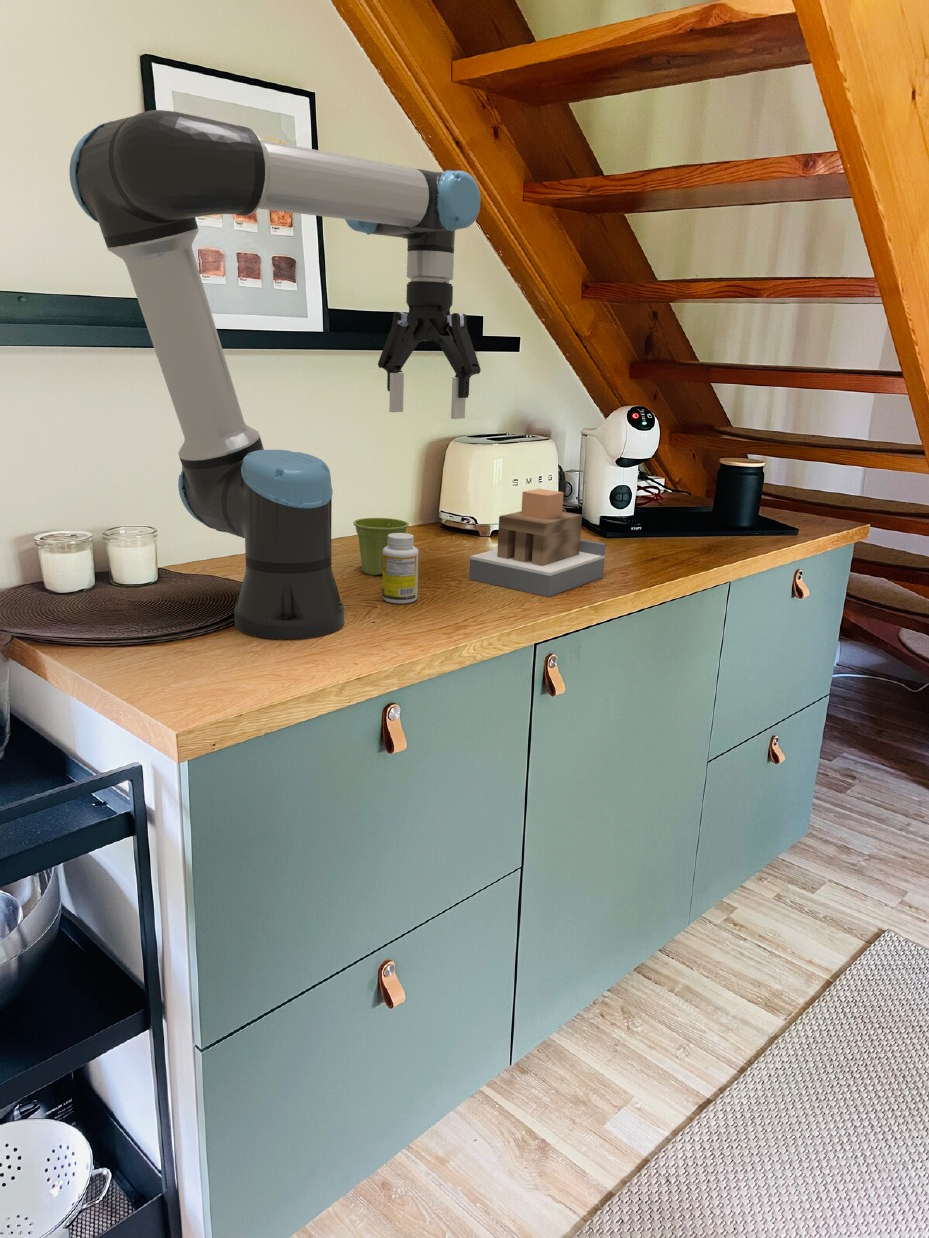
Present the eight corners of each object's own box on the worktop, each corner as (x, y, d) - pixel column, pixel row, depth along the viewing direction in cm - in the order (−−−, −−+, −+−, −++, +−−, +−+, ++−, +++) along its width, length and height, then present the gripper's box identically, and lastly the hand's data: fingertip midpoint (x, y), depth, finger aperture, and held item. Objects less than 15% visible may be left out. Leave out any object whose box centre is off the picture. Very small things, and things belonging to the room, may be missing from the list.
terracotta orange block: (546, 519, 152) (547, 495, 150) (521, 515, 154) (522, 491, 153) (561, 515, 156) (563, 492, 154) (537, 511, 158) (538, 488, 157)
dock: (548, 597, 147) (551, 560, 145) (469, 579, 156) (470, 544, 154) (603, 577, 161) (605, 543, 159) (527, 561, 170) (529, 530, 168)
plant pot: (374, 562, 165) (374, 515, 162) (417, 570, 160) (419, 522, 158) (342, 572, 157) (342, 522, 154) (386, 581, 152) (387, 530, 150)
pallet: (541, 566, 150) (544, 524, 148) (497, 556, 155) (499, 516, 153) (578, 554, 159) (582, 514, 157) (535, 546, 164) (537, 507, 162)
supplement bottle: (392, 593, 146) (393, 530, 143) (423, 598, 144) (425, 534, 141) (375, 601, 141) (375, 536, 138) (407, 606, 139) (408, 540, 136)
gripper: (506, 283, 144) (499, 420, 150) (388, 283, 158) (386, 408, 164) (477, 279, 138) (471, 422, 144) (358, 280, 152) (357, 410, 159)
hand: (426, 415), depth 154 cm, fingers open, 13 cm apart
